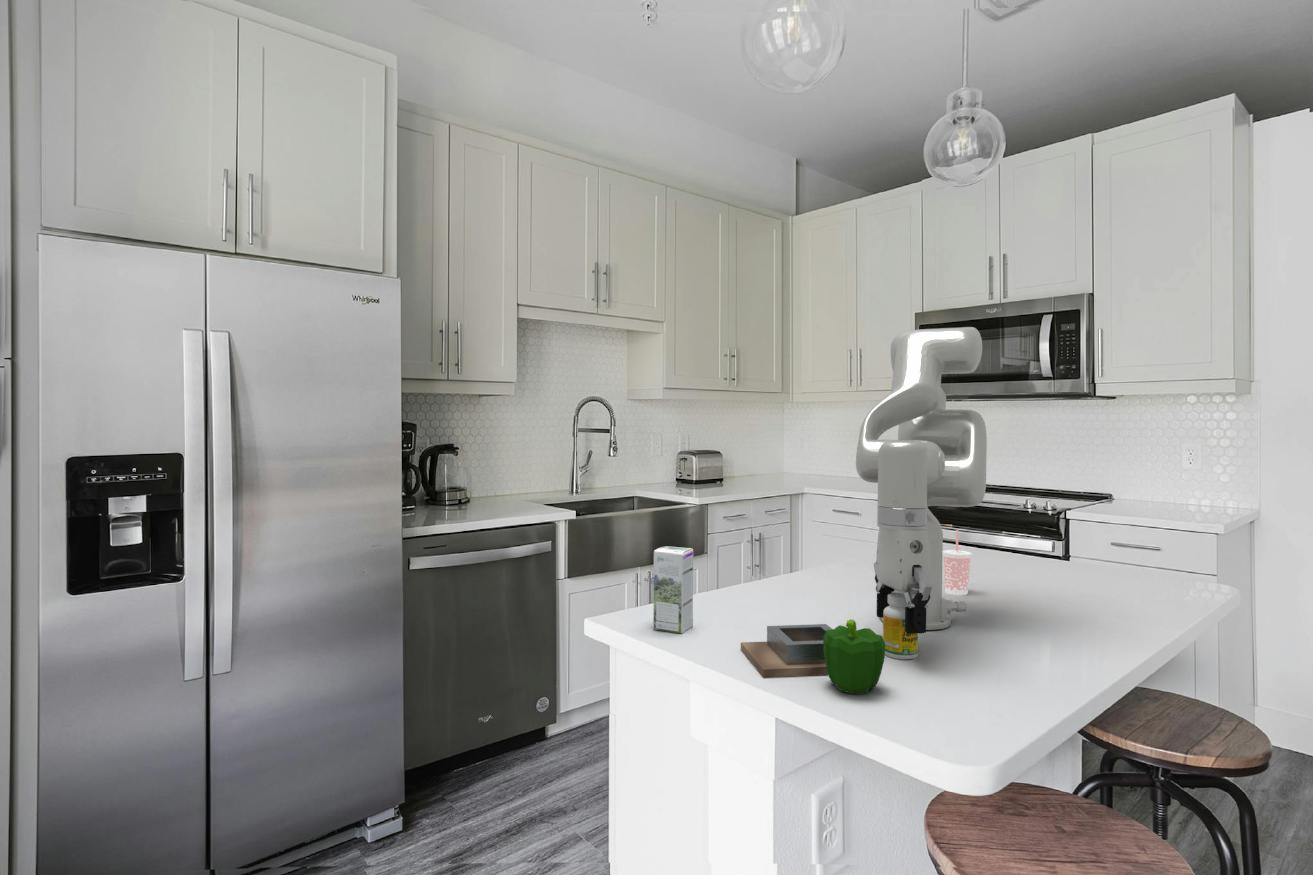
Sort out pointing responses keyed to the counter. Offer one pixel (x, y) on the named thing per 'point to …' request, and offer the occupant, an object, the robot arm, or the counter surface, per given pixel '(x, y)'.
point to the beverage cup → (956, 570)
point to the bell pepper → (853, 657)
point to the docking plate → (777, 662)
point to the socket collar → (798, 643)
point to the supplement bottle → (898, 629)
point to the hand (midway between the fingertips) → (900, 624)
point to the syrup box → (673, 589)
